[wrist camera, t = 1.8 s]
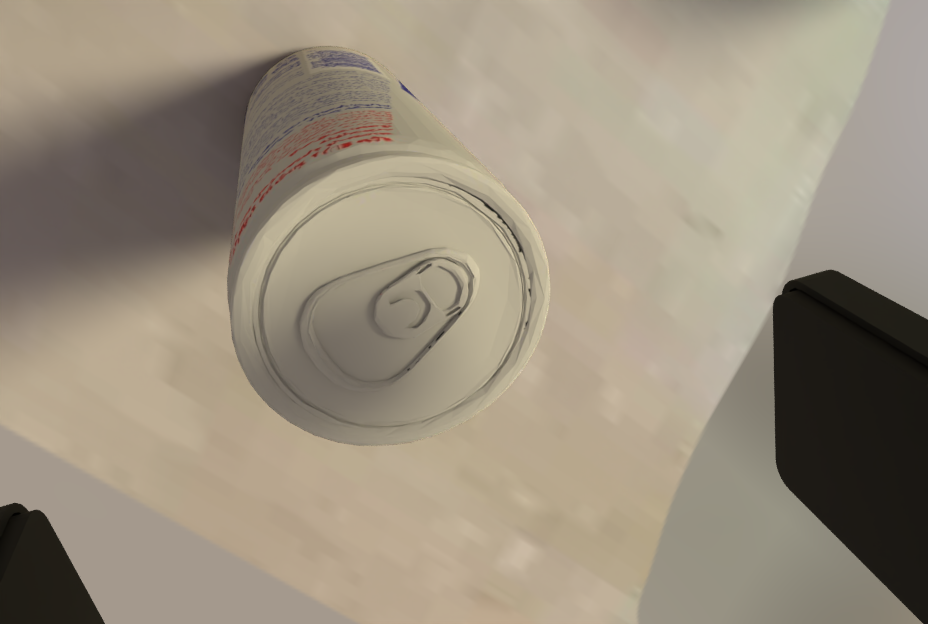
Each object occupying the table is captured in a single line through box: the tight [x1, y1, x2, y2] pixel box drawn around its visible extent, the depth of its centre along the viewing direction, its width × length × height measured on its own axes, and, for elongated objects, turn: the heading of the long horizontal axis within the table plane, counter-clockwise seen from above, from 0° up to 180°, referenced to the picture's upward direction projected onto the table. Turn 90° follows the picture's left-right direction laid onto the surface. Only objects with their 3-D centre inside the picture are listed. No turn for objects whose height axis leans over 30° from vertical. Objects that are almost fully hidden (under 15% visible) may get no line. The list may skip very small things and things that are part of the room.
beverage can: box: [227, 46, 550, 446], centre depth 20 cm, size 6×6×15 cm
